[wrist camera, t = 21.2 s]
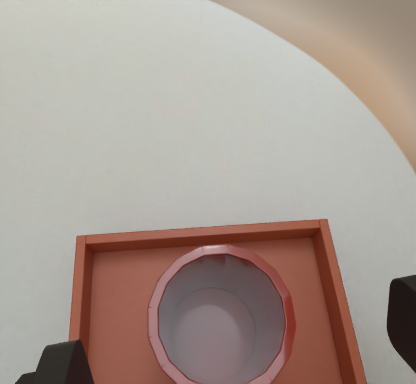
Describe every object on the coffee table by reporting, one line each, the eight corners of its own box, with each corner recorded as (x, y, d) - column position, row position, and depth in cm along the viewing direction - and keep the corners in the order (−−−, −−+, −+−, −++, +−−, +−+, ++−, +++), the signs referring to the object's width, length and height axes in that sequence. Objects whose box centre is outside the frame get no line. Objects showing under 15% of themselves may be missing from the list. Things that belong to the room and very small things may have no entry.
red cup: (253, 279, 24) (282, 240, 16) (267, 381, 21) (309, 393, 13) (162, 286, 23) (146, 249, 16) (165, 391, 21) (148, 409, 13)
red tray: (315, 231, 26) (327, 218, 24) (360, 431, 21) (381, 440, 18) (87, 247, 25) (76, 235, 22) (73, 463, 20) (58, 476, 17)
